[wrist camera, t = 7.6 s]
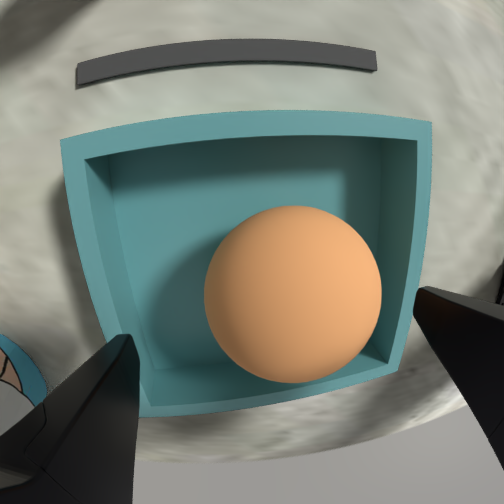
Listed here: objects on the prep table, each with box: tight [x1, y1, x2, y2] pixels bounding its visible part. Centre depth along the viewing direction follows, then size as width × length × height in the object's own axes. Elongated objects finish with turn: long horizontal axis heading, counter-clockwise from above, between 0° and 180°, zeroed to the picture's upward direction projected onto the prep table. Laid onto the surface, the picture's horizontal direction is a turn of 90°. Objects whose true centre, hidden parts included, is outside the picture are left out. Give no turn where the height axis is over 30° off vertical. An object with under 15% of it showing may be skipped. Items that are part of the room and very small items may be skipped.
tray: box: [60, 110, 432, 418], centre depth 12 cm, size 13×12×3 cm
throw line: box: [77, 39, 377, 85], centre depth 10 cm, size 13×1×1 cm, turn 94°
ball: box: [204, 206, 382, 383], centre depth 10 cm, size 6×6×6 cm
